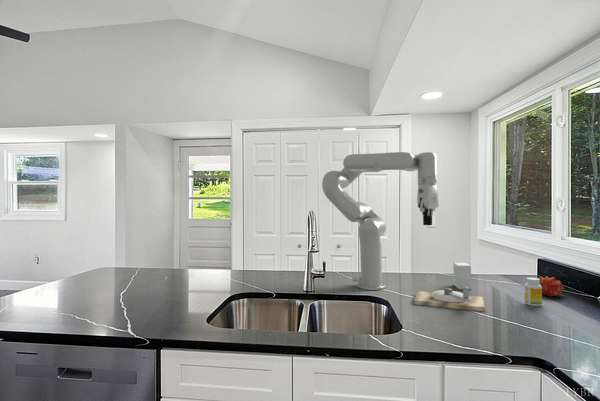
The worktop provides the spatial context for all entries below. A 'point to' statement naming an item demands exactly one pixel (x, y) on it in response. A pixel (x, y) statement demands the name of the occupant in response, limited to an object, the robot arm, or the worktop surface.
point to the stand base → (427, 299)
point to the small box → (462, 275)
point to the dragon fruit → (550, 286)
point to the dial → (451, 295)
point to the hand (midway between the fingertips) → (427, 225)
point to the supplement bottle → (533, 292)
